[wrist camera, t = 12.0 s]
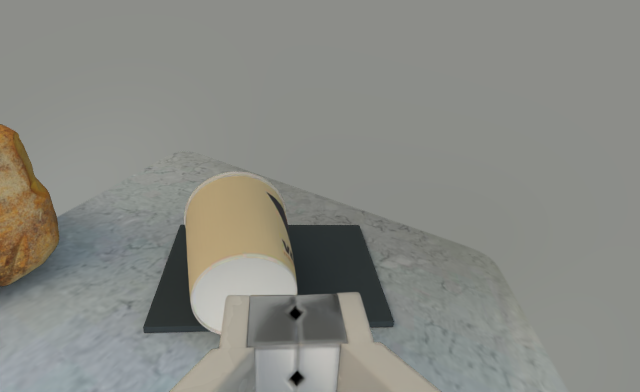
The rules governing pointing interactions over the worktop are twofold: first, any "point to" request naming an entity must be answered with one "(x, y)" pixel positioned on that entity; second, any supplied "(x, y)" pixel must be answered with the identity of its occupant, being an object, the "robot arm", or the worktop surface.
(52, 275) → the worktop surface
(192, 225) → the coffee cup
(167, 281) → the slate mat
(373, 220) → the worktop surface
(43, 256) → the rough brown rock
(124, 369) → the worktop surface
